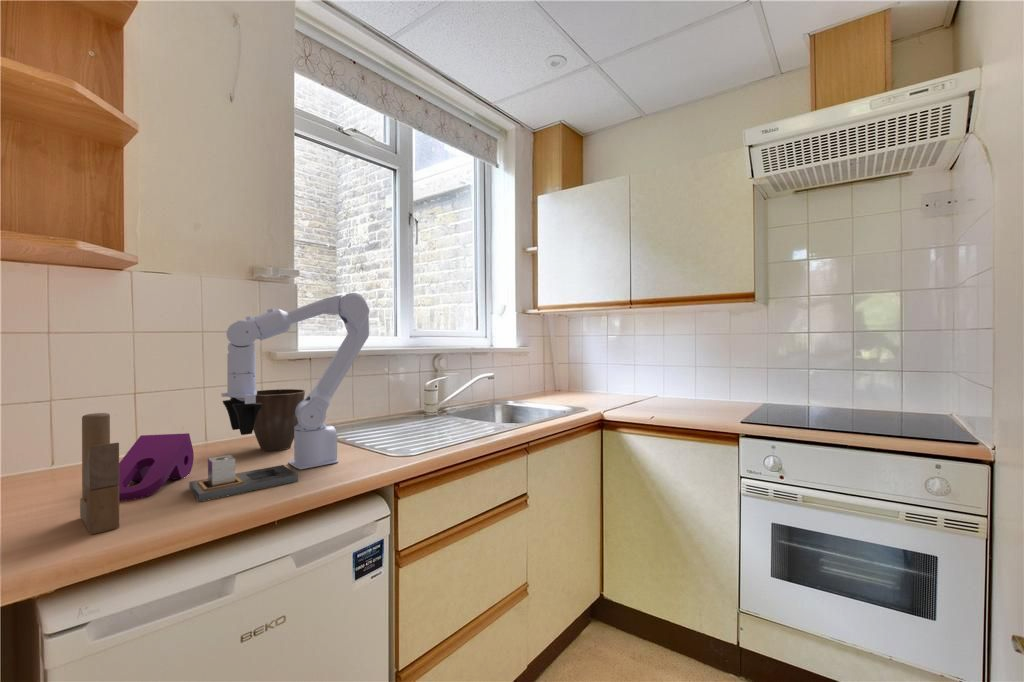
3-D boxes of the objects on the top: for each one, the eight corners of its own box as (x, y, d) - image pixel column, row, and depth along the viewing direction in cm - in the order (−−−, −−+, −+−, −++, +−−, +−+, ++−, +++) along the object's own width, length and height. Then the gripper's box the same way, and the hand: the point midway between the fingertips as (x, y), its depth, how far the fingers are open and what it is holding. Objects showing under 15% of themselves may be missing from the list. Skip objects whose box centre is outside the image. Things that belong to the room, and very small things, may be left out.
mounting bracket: (162, 522, 91) (196, 462, 107) (152, 491, 87) (189, 433, 103) (106, 527, 89) (149, 464, 104) (94, 495, 85) (140, 435, 101)
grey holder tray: (282, 471, 106) (282, 464, 106) (298, 481, 98) (298, 473, 98) (189, 489, 93) (189, 481, 93) (199, 502, 86) (199, 493, 86)
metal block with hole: (230, 485, 96) (230, 454, 96) (235, 490, 93) (235, 458, 93) (207, 490, 93) (207, 458, 93) (212, 494, 90) (212, 462, 90)
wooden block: (89, 535, 71) (89, 422, 71) (79, 518, 78) (79, 414, 78) (120, 528, 74) (120, 418, 74) (108, 512, 81) (107, 411, 81)
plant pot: (237, 448, 127) (237, 391, 127) (292, 439, 138) (292, 387, 138) (256, 458, 117) (256, 396, 117) (314, 447, 128) (314, 391, 128)
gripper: (214, 372, 107) (214, 429, 107) (229, 376, 97) (229, 439, 97) (247, 370, 112) (248, 425, 112) (265, 374, 102) (265, 434, 102)
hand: (241, 431), depth 105 cm, fingers open, 7 cm apart
